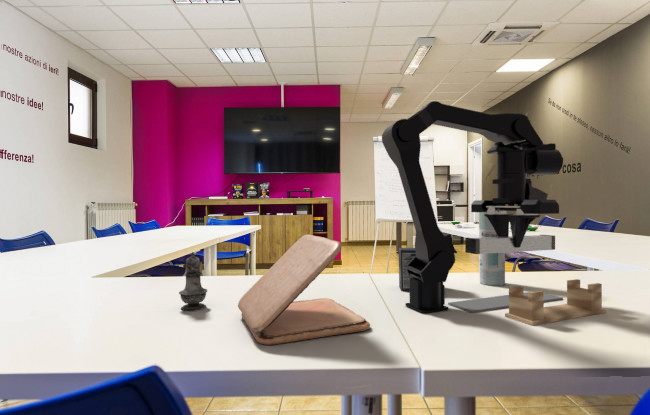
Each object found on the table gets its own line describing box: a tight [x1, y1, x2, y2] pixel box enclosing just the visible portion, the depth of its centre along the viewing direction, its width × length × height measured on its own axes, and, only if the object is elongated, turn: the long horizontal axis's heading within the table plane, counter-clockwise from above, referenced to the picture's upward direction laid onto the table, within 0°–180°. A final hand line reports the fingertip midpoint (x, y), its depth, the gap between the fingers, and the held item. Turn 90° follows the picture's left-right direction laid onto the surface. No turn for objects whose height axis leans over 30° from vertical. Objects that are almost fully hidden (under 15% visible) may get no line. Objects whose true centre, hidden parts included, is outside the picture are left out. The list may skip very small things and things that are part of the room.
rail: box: [464, 234, 556, 255], centre depth 84 cm, size 22×3×3 cm, turn 110°
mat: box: [447, 290, 564, 314], centre depth 85 cm, size 26×7×1 cm, turn 112°
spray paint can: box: [478, 212, 506, 287], centre depth 104 cm, size 6×6×20 cm
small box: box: [398, 247, 416, 292], centre depth 99 cm, size 11×6×10 cm, turn 84°
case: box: [237, 234, 371, 346], centre depth 73 cm, size 20×21×16 cm
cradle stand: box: [504, 278, 607, 326], centre depth 75 cm, size 20×6×6 cm, turn 112°
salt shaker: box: [178, 252, 209, 312], centre depth 84 cm, size 6×6×12 cm
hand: (511, 246), depth 84 cm, fingers closed on rail, 3 cm apart
